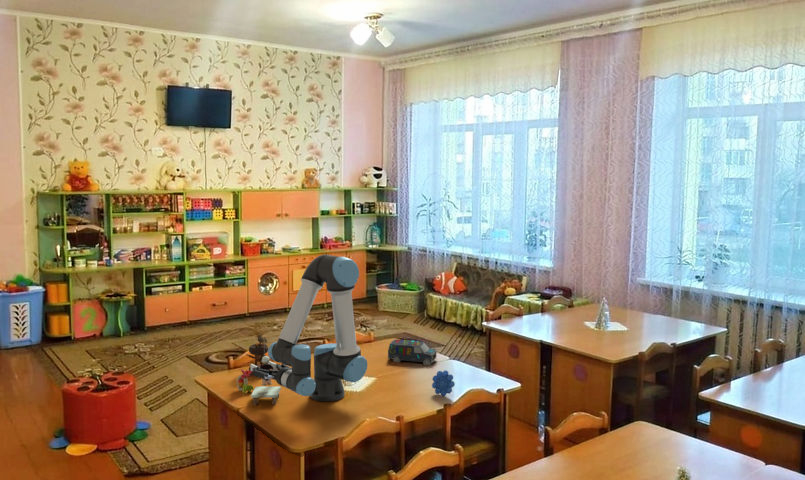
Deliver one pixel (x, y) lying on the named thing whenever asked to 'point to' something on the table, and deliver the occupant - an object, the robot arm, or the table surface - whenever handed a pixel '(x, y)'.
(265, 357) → the grandmother figurine
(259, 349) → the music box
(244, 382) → the flower ornament
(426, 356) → the toy van
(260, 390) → the miniature table
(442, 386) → the blue bumpy round piece
